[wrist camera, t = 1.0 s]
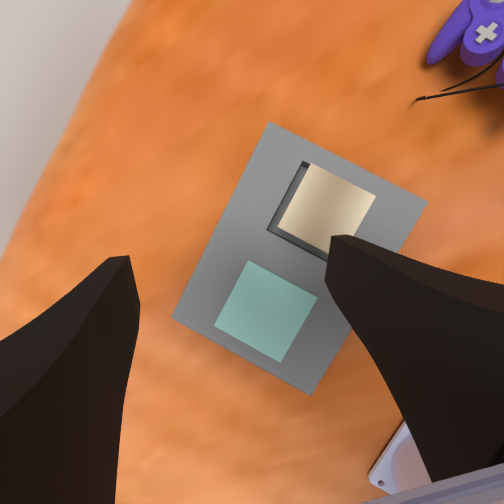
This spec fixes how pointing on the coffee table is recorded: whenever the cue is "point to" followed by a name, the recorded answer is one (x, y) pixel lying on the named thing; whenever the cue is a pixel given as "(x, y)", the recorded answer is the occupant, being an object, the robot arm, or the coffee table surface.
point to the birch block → (325, 208)
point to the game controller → (472, 39)
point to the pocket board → (283, 263)
